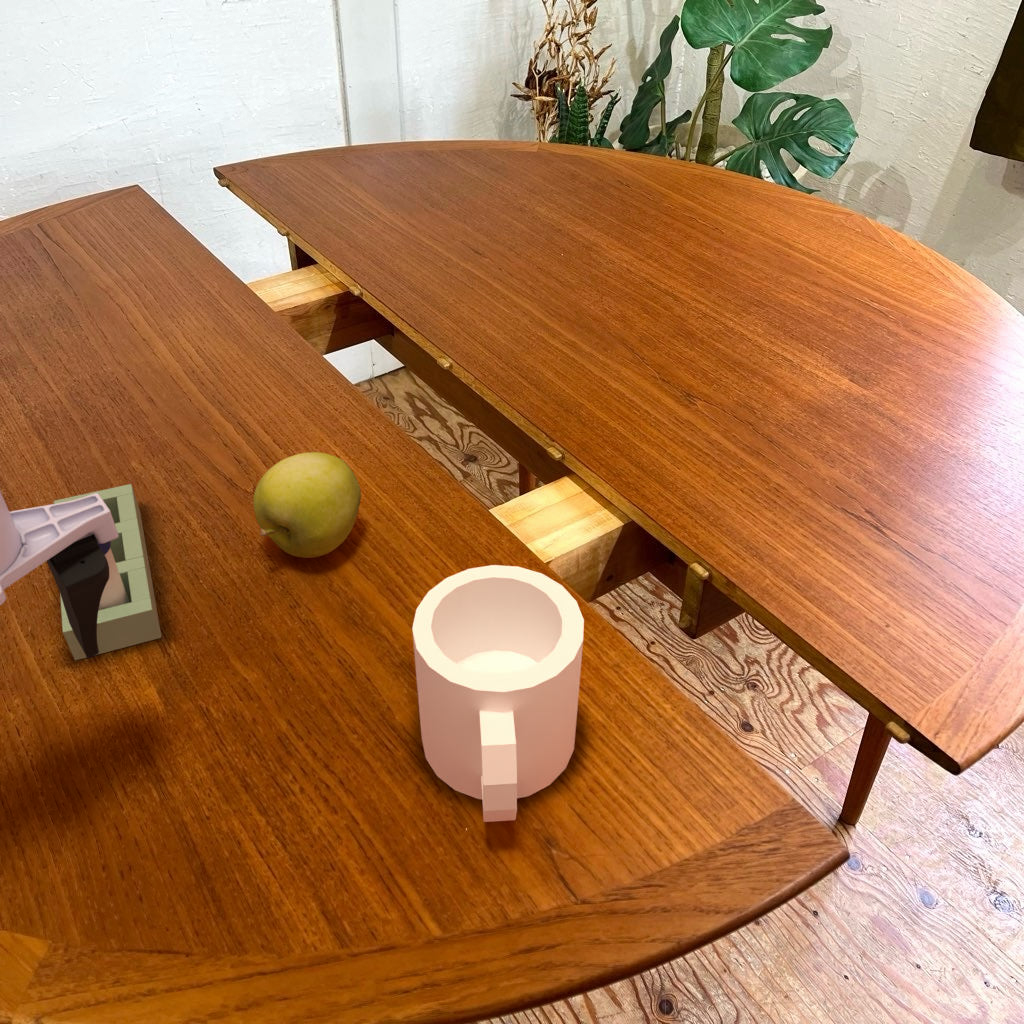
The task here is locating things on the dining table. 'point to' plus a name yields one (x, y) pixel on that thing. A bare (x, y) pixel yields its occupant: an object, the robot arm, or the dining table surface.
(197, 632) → the dining table surface
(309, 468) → the apple
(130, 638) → the tube rack
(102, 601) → the test tube
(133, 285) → the dining table surface
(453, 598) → the mug
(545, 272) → the dining table surface
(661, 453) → the dining table surface
